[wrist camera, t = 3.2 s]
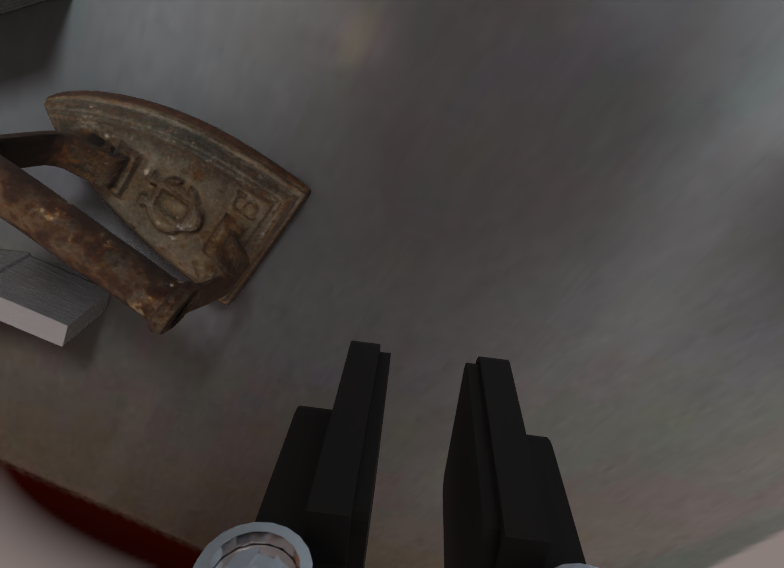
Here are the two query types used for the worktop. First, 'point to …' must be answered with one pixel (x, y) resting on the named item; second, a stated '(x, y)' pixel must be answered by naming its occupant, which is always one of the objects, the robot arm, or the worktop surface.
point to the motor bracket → (45, 284)
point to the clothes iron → (150, 200)
